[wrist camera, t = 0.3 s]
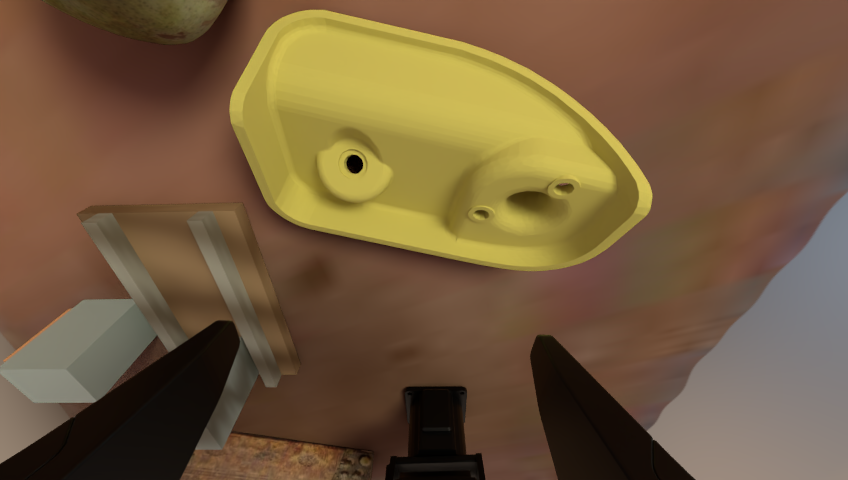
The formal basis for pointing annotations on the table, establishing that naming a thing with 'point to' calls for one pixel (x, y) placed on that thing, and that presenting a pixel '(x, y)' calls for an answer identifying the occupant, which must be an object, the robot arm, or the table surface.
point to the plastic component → (429, 146)
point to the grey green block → (80, 352)
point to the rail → (199, 288)
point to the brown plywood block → (278, 461)
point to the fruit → (146, 17)
